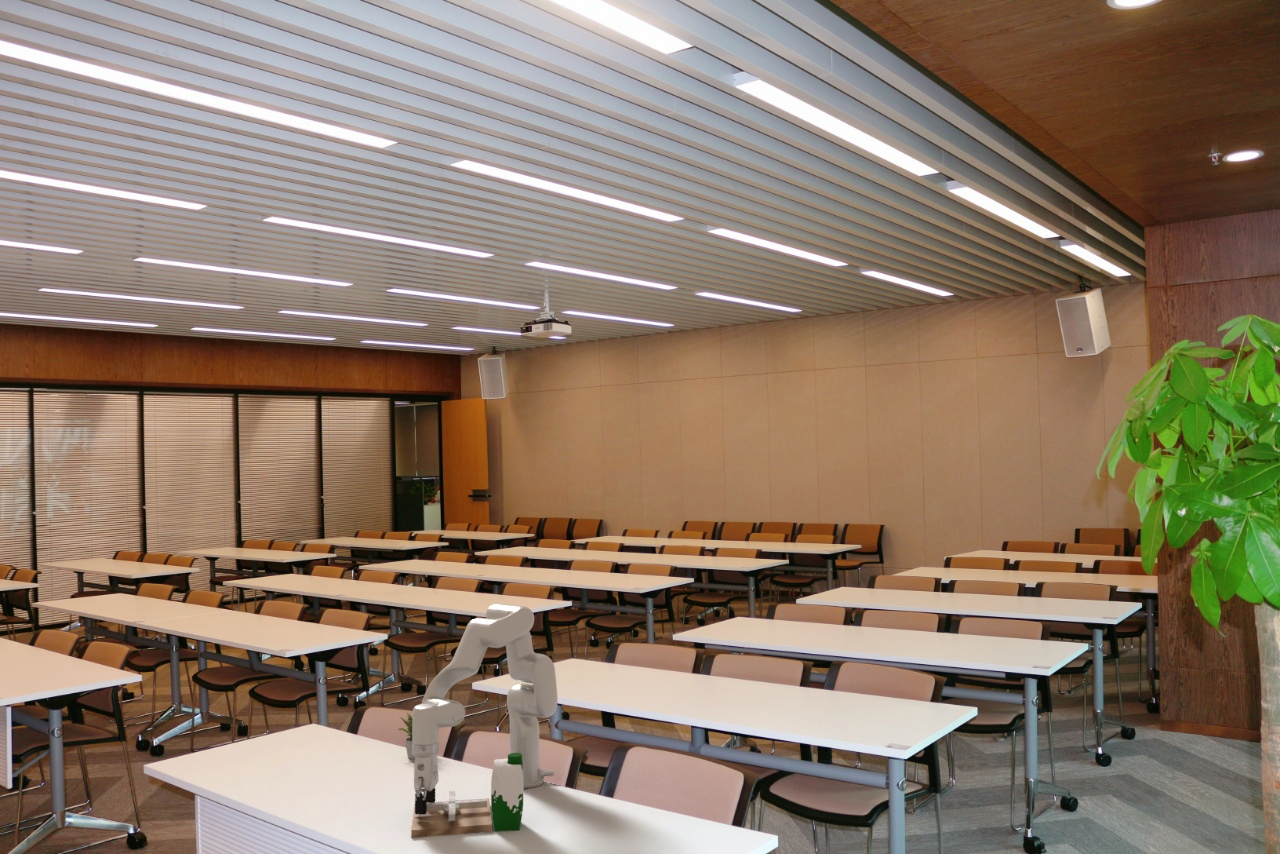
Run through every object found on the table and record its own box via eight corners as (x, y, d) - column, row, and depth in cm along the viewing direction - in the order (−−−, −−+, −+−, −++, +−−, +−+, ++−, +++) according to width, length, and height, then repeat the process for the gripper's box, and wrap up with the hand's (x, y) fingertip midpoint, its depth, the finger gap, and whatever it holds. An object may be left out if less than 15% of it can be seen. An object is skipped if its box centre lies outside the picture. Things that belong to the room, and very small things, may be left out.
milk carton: (522, 831, 267) (522, 759, 268) (490, 832, 267) (490, 760, 268) (523, 820, 276) (523, 750, 277) (492, 821, 275) (492, 751, 276)
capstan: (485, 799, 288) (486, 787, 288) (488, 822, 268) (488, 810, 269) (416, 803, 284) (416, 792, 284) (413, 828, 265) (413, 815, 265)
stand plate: (489, 805, 289) (489, 797, 289) (491, 831, 268) (491, 823, 268) (414, 810, 285) (414, 802, 285) (411, 837, 263) (411, 829, 263)
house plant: (430, 763, 331) (430, 716, 332) (390, 763, 331) (391, 716, 332) (439, 751, 346) (439, 706, 346) (401, 751, 346) (401, 706, 347)
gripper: (430, 757, 269) (430, 818, 268) (445, 740, 286) (445, 798, 285) (404, 756, 269) (403, 818, 268) (420, 739, 286) (420, 797, 285)
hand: (425, 808), depth 276 cm, fingers open, 9 cm apart
